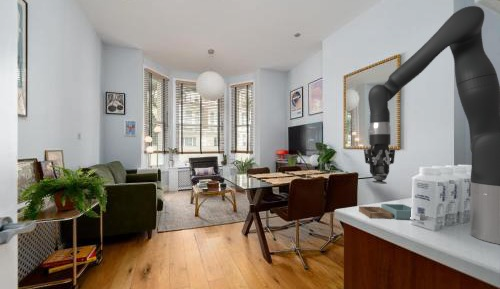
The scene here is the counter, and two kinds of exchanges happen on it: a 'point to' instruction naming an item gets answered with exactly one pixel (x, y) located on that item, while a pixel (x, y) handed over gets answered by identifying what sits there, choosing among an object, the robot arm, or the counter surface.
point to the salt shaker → (379, 172)
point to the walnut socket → (375, 212)
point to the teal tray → (398, 211)
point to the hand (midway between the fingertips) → (379, 174)
